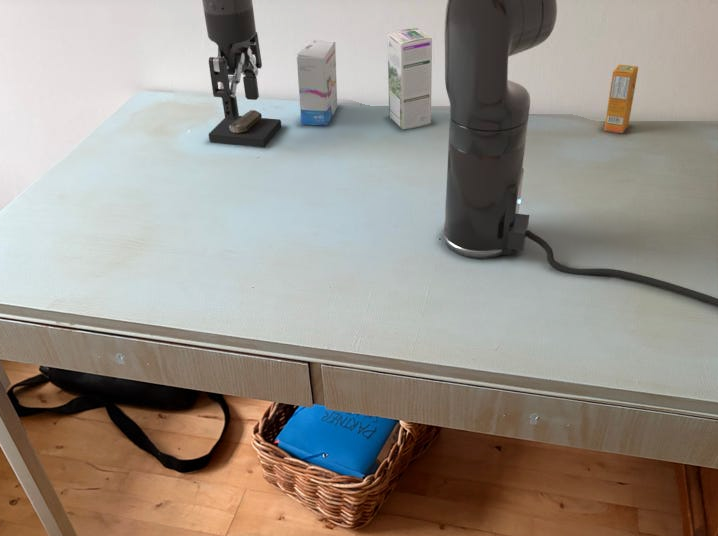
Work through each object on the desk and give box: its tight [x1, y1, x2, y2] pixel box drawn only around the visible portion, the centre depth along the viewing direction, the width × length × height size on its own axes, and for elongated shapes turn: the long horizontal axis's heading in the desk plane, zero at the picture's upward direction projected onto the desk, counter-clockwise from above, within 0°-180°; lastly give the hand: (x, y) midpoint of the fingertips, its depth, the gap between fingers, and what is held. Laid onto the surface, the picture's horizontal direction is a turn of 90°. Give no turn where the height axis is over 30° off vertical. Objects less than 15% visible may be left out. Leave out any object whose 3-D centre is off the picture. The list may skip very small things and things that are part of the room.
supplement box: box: [603, 64, 639, 134], centre depth 121 cm, size 3×3×10 cm
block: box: [229, 109, 263, 133], centre depth 126 cm, size 4×6×2 cm, turn 154°
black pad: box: [208, 115, 283, 148], centre depth 127 cm, size 10×8×2 cm
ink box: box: [296, 39, 338, 127], centre depth 129 cm, size 9×5×12 cm, turn 168°
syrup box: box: [387, 27, 433, 130], centre depth 125 cm, size 6×6×14 cm
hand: (242, 108), depth 125 cm, fingers open, 8 cm apart
